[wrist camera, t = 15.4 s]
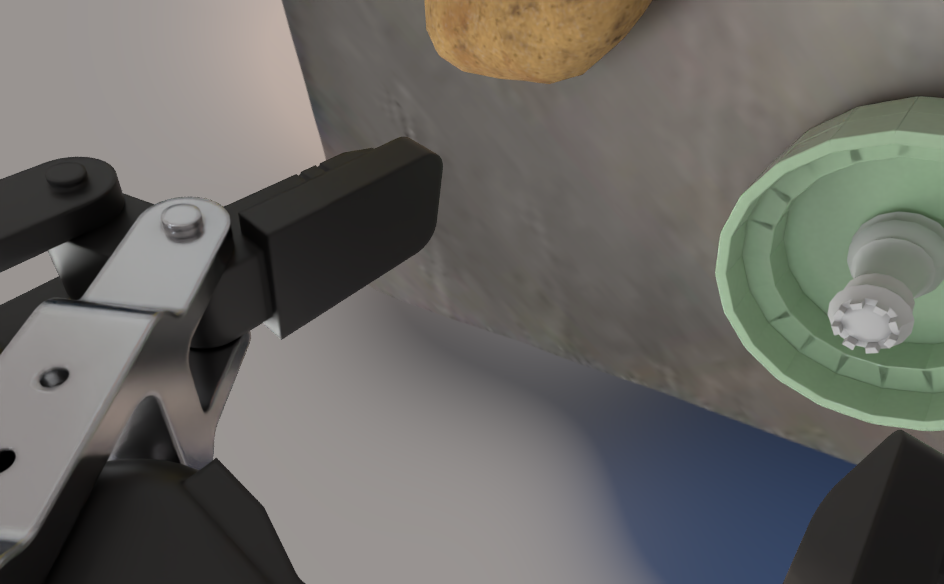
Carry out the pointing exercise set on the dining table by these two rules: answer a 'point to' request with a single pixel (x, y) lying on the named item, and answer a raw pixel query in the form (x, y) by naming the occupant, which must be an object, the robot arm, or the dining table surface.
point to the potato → (529, 35)
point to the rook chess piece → (887, 279)
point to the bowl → (838, 261)
